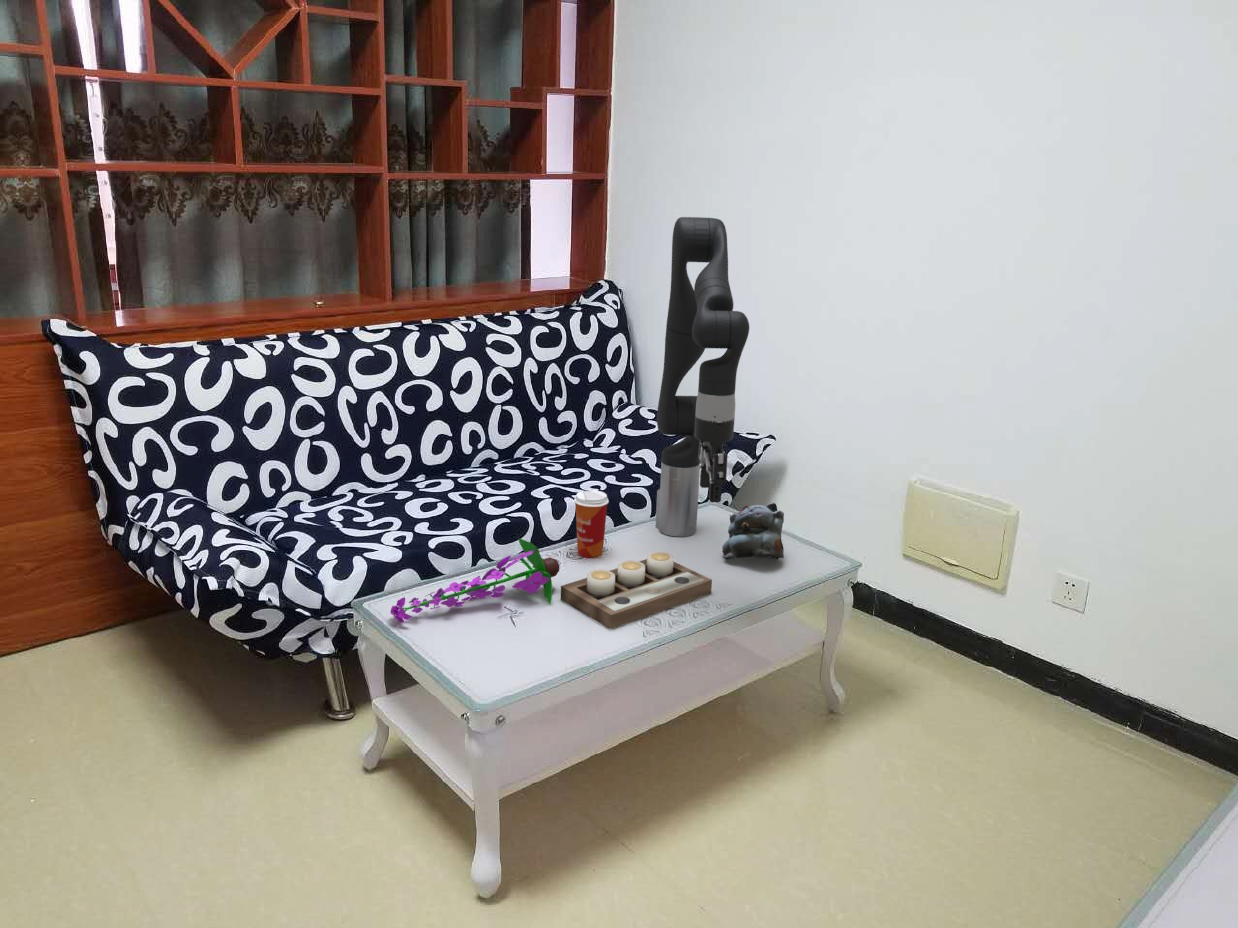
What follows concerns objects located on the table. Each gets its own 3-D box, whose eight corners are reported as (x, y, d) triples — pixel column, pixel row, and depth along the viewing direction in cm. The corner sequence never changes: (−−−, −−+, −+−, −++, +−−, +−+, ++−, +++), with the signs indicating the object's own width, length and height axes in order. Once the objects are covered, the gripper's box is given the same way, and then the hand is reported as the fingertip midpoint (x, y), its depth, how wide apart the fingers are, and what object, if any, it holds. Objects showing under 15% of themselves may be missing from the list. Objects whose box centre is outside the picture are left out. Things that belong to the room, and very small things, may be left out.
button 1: (581, 587, 194) (581, 573, 193) (602, 581, 197) (603, 566, 196) (598, 597, 190) (599, 583, 189) (620, 590, 193) (620, 576, 192)
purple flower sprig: (568, 612, 199) (407, 667, 182) (533, 552, 208) (376, 598, 190) (581, 577, 191) (413, 630, 173) (544, 515, 199) (380, 560, 181)
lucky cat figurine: (709, 558, 218) (713, 497, 220) (740, 565, 227) (743, 506, 229) (766, 558, 208) (769, 494, 211) (795, 565, 217) (798, 504, 219)
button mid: (611, 578, 199) (612, 564, 198) (632, 571, 202) (633, 557, 201) (629, 587, 195) (630, 573, 194) (650, 580, 198) (650, 566, 197)
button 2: (641, 568, 204) (641, 555, 203) (660, 562, 207) (661, 549, 206) (658, 577, 200) (659, 563, 199) (678, 571, 203) (679, 557, 202)
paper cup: (567, 549, 220) (569, 491, 216) (598, 544, 223) (600, 487, 219) (581, 562, 214) (582, 502, 209) (612, 557, 217) (614, 498, 212)
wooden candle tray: (560, 599, 196) (560, 584, 195) (659, 567, 212) (660, 553, 211) (610, 629, 184) (611, 613, 183) (711, 593, 201) (712, 578, 200)
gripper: (688, 405, 192) (684, 483, 197) (703, 424, 178) (698, 507, 183) (725, 405, 193) (720, 482, 198) (743, 424, 179) (737, 506, 184)
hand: (709, 494), depth 190 cm, fingers open, 8 cm apart
